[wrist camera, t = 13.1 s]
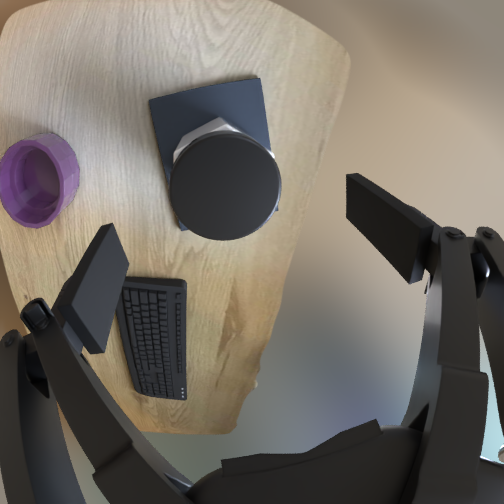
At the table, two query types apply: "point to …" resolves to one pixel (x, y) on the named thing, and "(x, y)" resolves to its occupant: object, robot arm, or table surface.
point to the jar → (223, 182)
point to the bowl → (38, 179)
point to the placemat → (208, 115)
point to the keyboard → (154, 335)
